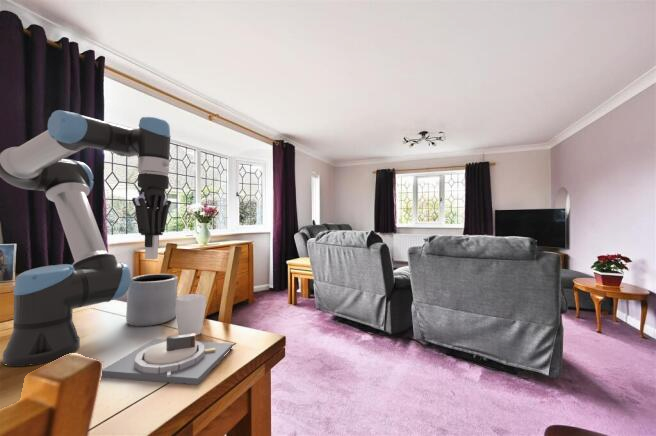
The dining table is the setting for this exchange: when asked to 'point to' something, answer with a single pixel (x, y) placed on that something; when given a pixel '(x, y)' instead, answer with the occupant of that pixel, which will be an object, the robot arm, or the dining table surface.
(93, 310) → the dining table surface
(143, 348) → the panel
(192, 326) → the cup
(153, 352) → the dial
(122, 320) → the dining table surface
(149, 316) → the planter
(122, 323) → the dining table surface
